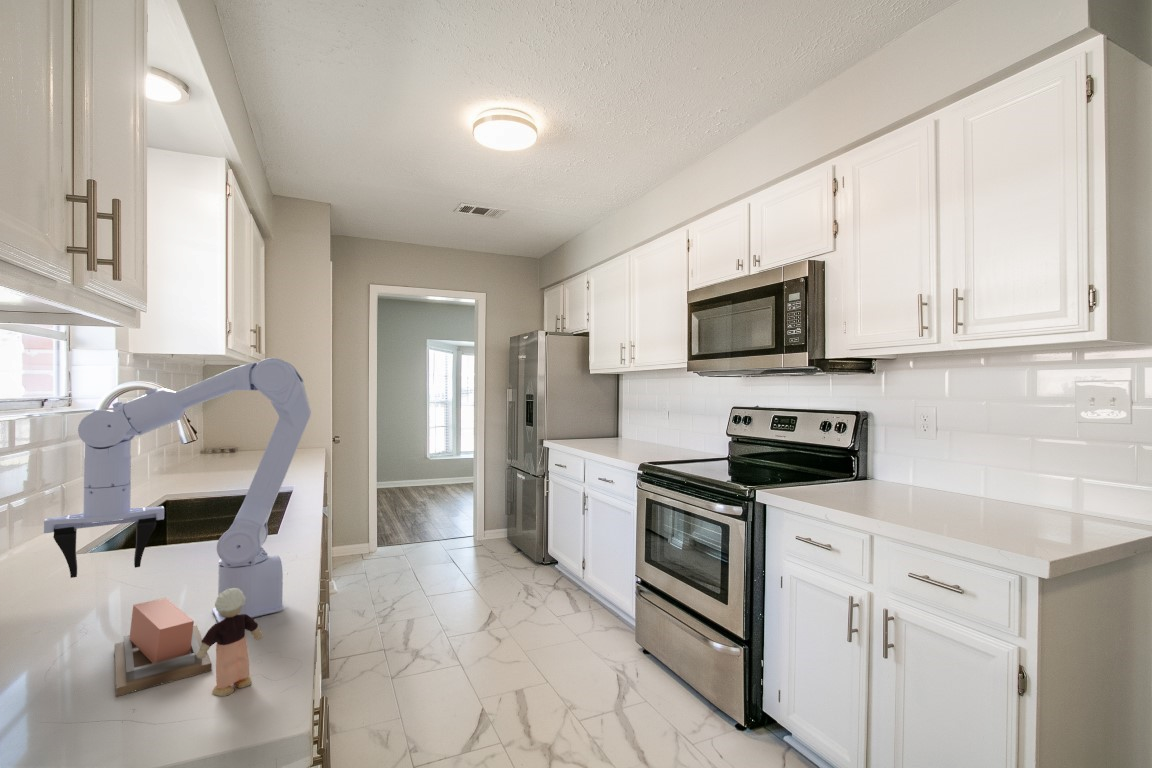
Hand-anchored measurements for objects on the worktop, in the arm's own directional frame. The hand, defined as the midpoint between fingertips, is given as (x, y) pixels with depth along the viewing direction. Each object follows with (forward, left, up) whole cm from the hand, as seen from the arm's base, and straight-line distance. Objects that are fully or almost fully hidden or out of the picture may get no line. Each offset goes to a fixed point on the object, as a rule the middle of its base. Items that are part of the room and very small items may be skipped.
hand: (106, 570), depth 88 cm
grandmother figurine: (-12, +33, -10) cm, 36 cm away
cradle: (-6, +18, -9) cm, 21 cm away
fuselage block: (-6, +17, -8) cm, 20 cm away
